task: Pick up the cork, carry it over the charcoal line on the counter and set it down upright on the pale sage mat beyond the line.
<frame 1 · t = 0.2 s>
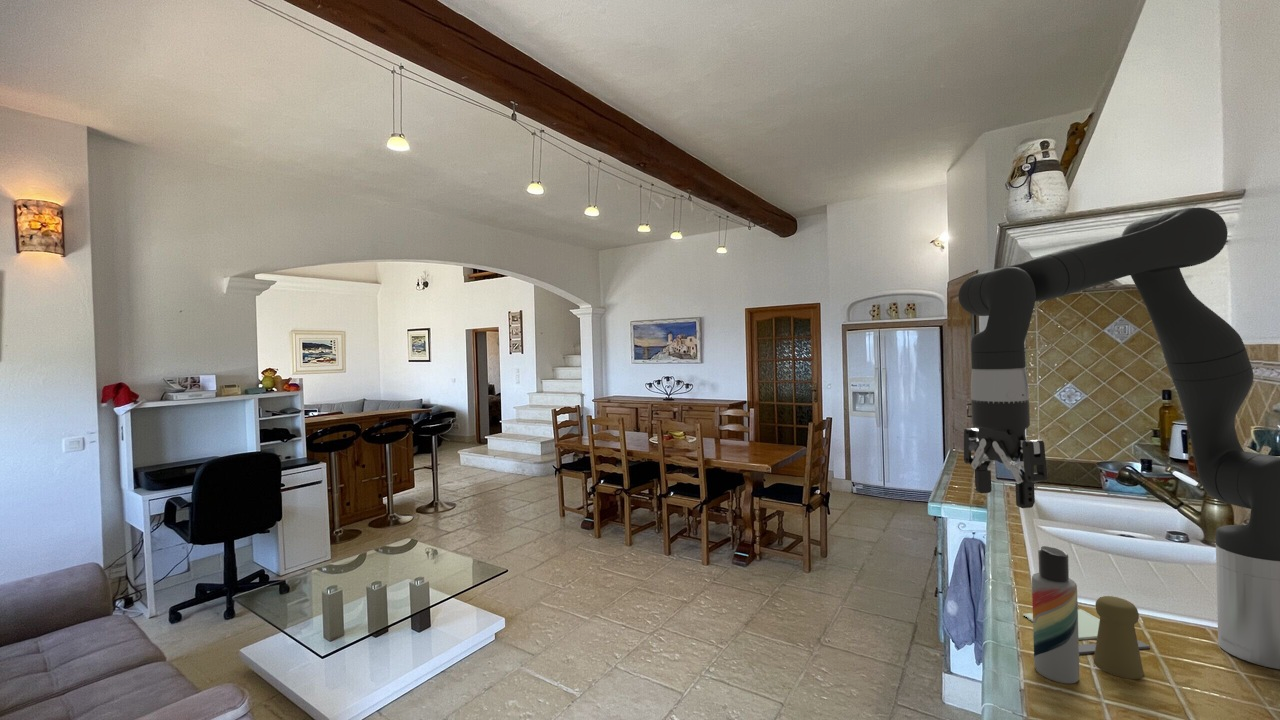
hand: (1003, 499, 83), 28 cm above the counter, tool pointing down, fingers open, 8 cm apart
lotion bottle: (1056, 674, 84), on the counter
cork: (1118, 668, 85), on the counter
charcoal line: (1100, 648, 90), on the counter
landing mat: (1072, 625, 98), on the counter
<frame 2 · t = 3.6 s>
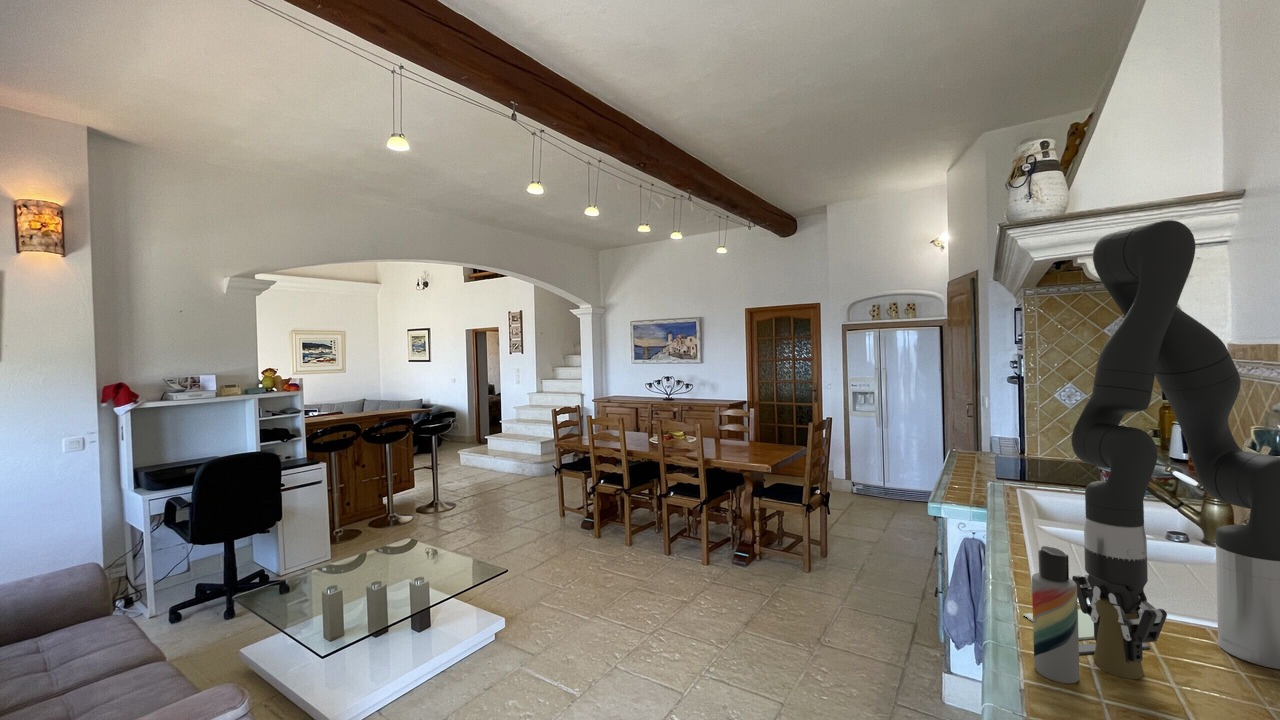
hand: (1117, 653, 85), 2 cm above the counter, tool pointing down, fingers closed on cork, 4 cm apart
cork: (1118, 668, 85), on the counter, touching gripper
everything else where it was.
when the fingers open (4 cm above the counter, at t = 8.9 s): cork stays where it is, resting on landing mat.
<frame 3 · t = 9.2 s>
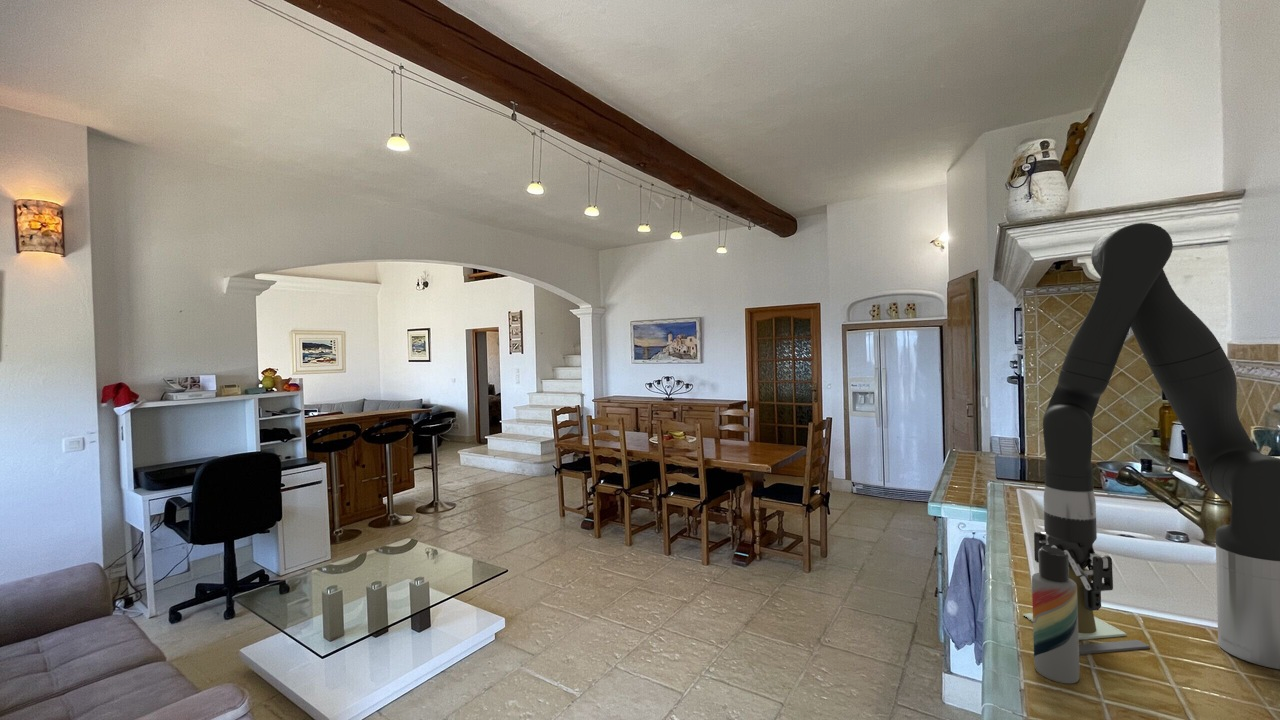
hand: (1071, 598, 98), 5 cm above the counter, tool pointing down, fingers open, 7 cm apart
cork: (1074, 625, 97), resting on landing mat
everything else where it was.
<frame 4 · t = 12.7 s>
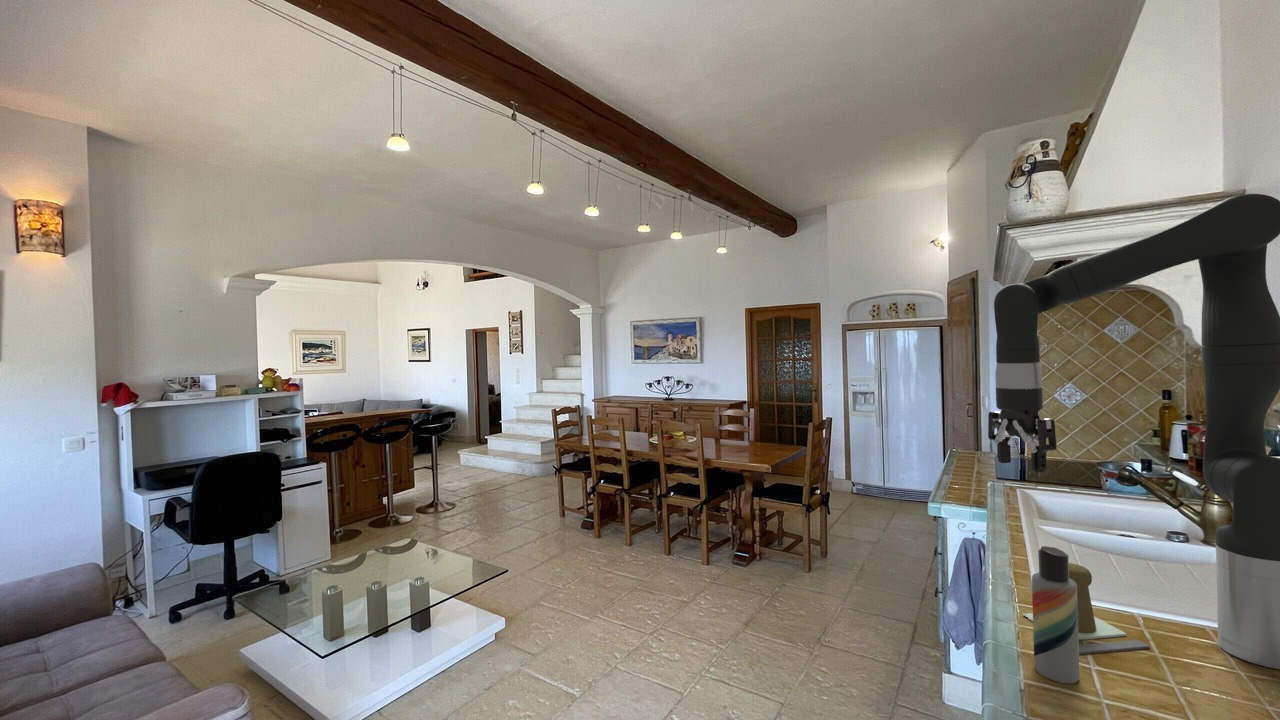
hand: (1020, 467, 105), 28 cm above the counter, tool pointing down, fingers open, 8 cm apart
nothing on the counter moved.
at the end: cork inside the target area (0.5 cm from its centre), resting on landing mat; cork tilted 0°; the gripper is holding nothing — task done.
